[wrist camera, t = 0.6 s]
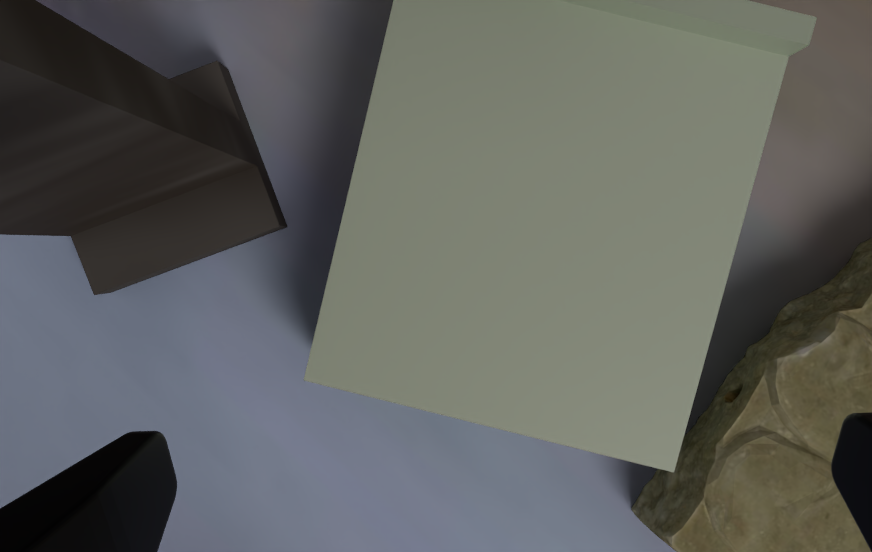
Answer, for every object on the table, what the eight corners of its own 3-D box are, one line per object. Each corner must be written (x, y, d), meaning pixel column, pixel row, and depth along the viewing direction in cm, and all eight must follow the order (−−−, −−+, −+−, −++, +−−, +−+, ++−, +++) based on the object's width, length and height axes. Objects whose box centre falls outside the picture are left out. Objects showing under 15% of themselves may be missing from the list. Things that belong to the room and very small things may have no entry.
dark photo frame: (287, 226, 21) (39, 199, 8) (110, 292, 22) (-396, 365, 9) (228, 69, 21) (-122, -210, 8) (49, 137, 21) (-566, -28, 8)
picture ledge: (642, 440, 21) (686, 485, 17) (323, 361, 22) (295, 387, 18) (745, 61, 21) (816, 17, 17) (414, -20, 21) (406, -83, 17)
